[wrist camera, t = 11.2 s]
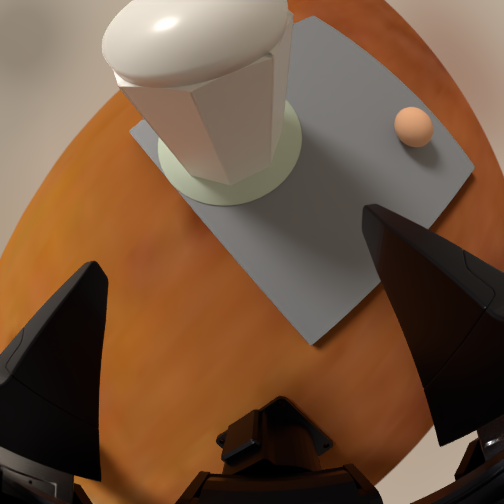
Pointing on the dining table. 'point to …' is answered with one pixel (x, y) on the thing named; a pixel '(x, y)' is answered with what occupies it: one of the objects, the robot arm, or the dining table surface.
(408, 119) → the ball
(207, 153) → the salt shaker
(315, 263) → the board
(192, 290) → the dining table surface
